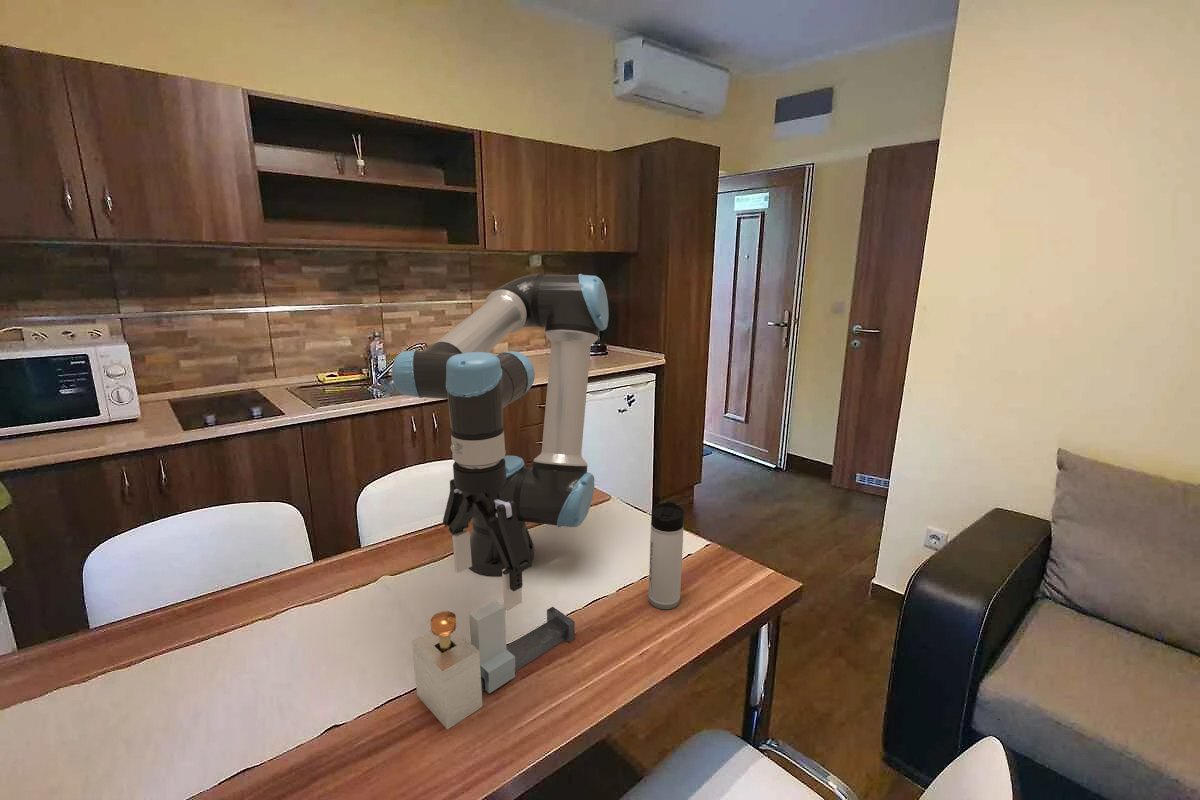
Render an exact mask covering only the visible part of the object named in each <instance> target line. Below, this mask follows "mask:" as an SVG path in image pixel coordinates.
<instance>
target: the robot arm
mask: <svg viewBox="0 0 1200 800" xmlns="http://www.w3.org/2000/svg"><path fill="white" fill-rule="evenodd" d="M609 315H610V314H609V302H608V295H607V291H606V286H605V284H604V282H603V281H602V279H601V278H600V277H598V276H597V275H588V274H583V273H579V274H545V273H543V274H542V273H533V274H527V275H524V276H520V277H518V278H515V279H513V280H511V281H508V282H507V283H505V284H502V285H501V286H499V287H497V288H496V289H495V290H493V291H492V292H490V293H489V294H488V296H486V299H485V300H484V303H483V305H482V306H481V307H480V308H478V309H477V310H475V311H474V312H473V313H471V314H470V315H469V316H468V317H466V318H465V319H463V321H461V322H460V323H458V324H457V325H456V326H455V327H453V328H452V329H451V330H449V331H448V332H446V334H444V335H443V336H441V337H440V338H439V339H438V340H436V341H435V342H434V343H433V344H432V345H430V346H429V347H427V348H426V349H424V350H421V351H420V350H418V349H414V350H404V351H401V352H400V353H399V354H398V355H397V356H396V357H395V359H394V361H393V363H392V366H391V379H392V383H393V386H394V388H395V389H396V391H397V392H398V393H399V394H401V395H403V396H408V397H416V398H419V399H423V398H425V399H440V400H447V403H448V404H447V406H448V414H449V415H448V416H449V424H450V428H449V429H450V430H449V431H450V436H451V437H450V438H451V445H450V446H449V447H450V450H451V452H452V460H453V461H454V462H453V464H452V470H453V473H452V474H453V479H450V481H449V494H448V498H447V502H446V507H445V511H444V514H443V518H442V524H443V526H444V527H448V531H449V533H450V534H451V536H452V548H453V560H454V572H456V573H457V574H458V573H461V572H464V571H465V570H468V569H471V571H472V572H475V573H477V574H481V575H484V576H494V577H495V576H496V577H497V576H499V577H500V576H502V593H503V606H504V609H505V610H506V611H509V610H511V609H513V608H515V607H517V606H519V605H520V604H522V603H523V595H522V594H523V593H522V588H523V572H524V571H525V570H528V569H529V568H532V567H533V561H534V559H535V545H534V542H533V540H532V537H531V535H530V532H529V530H528V527H527V525H526V523H532V524H540V525H541V524H542V525H549V526H556V527H557V528H561V527H564V528H565V527H567V528H576V527H579V526H580V525H582V524H583V523H584V521H585V520H586V519H587V516H588V514H589V511H590V509H591V508H590V507H591V505H592V502H593V497H594V493H595V476H594V474H592V473H591V472H588V462H586V460H585V459H584V458H583V456H582V450H583V440H584V439H583V437H584V427H585V415H586V414H585V413H586V403H587V394H588V393H587V391H588V379H589V371H590V370H589V369H590V358H591V347H592V345H594V344H595V343H596V342H597V341H598V340H599V336H600V335H599V334H600V333H599V332H600V331H602V332H603V331H604V330H606V329H607V328H608V323H609V317H610V316H609ZM523 328H542V329H543V328H544V329H545V331H544V332H545V333H544V335H545V336H546V337H547V339H548V340H549V341H550V343H551V344H550V353H549V354H550V355H549V364H548V365H549V366H548V377H547V389H546V398H545V400H546V401H545V409H544V411H545V412H544V419H543V421H544V422H543V429H542V430H543V431H542V432H543V433H542V443H541V452H540V454H538V455H537V456H536V457H535V458H534V459H533V462H532V467H529V466H525V465H526V464H525V461H524V459H523V458H522V457H520V456H517V455H506V446H505V445H506V444H505V443H506V442H505V429H504V408H506V407H507V406H509V405H510V404H512V403H513V402H515V401H517V400H518V399H521V398H522V397H524V396H525V394H526V393H527V392H528V391H529V390H530V389H531V388H532V387H533V385H534V381H535V375H536V373H535V368H534V365H533V364H532V362H531V360H530V359H529V358H528V357H527V355H525V354H524V353H521V352H519V351H515V350H514V351H513V350H511V351H503V352H501V353H499V354H494V353H491V351H492V350H494V348H495V347H496V346H497V345H498V344H499V343H501V342H502V341H503V340H504V339H505V337H507V336H508V335H509V334H513V333H516V332H518V331H520V330H521V329H523ZM471 522H472V523H471ZM470 523H471V524H472V531H471V533H470V530H468V529H467V528H470Z"/></svg>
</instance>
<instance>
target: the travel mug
mask: <svg viewBox="0 0 1200 800" xmlns="http://www.w3.org/2000/svg"><path fill="white" fill-rule="evenodd" d="M676 503H677V502H675V501H669V500H667V501H666V502H662V503H658V504H656V505H655V506H653V507H652V508H651V516H650V517H651V518H650V537H649V538H650V540H649V543H650V544H649V570H648V572H649V573H648V598H647V599H648V602H649V603H650V604H651V606H654V607H655V608H657V609H660V610H671V609H675V608H676V607H678V606H679V604H680V602H681V589H682V587H681V586H682V585H681V584H682V564H683V547H684V546H683V544H684V527H685V526H684V519H685V518H684V517H685V511H684V510H685V509H683V507H682V506H680V505H679V504H676Z"/></svg>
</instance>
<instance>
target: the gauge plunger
mask: <svg viewBox="0 0 1200 800" xmlns="http://www.w3.org/2000/svg"><path fill="white" fill-rule="evenodd" d="M457 627H458V626H457V616H456V613H455V612H453V611H449V610H446V611H440V612H437V613H435V614H434V615H433V616H431V618H430V629H431V630H430V631H431V632H432V633H433V634H434V635H436V636H439V644H440V652H441V653H444V652H446V651H448V650H449V649H451V640H450V634H451V633H453V632H454V631H455V630H456V629H457Z"/></svg>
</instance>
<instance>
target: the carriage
mask: <svg viewBox="0 0 1200 800" xmlns="http://www.w3.org/2000/svg"><path fill="white" fill-rule="evenodd" d="M505 610H506V609H504V604H502V603H500V602H499V601H498V600H496V599H495V600H494V601H491V602H489V603H488V604H486V605H483V606H482V607H480V608H478V609H475V610H474V611H472V612H470V613H468V615H469V617H468V618H469V619H468V620H469V630H470V631H469V632H470V635H469V636H470V643H471V644H472V645H474V646H475V647H476V648H477V649H478V650H479V654H480V671H481V676H482V677H483V678H484V679H485V692H486V693H488V694H491V693H492V692H494V691H496V690H497V689H498V688H500V687H503V686H504V685H505V684H506V683H508V682H509V681H511V680H513V679H515V678H516V671H515V656H514V655H512V654H511V653H510V652H509V651H508V650H507V649H506V646H507V631H506V611H505Z"/></svg>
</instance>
